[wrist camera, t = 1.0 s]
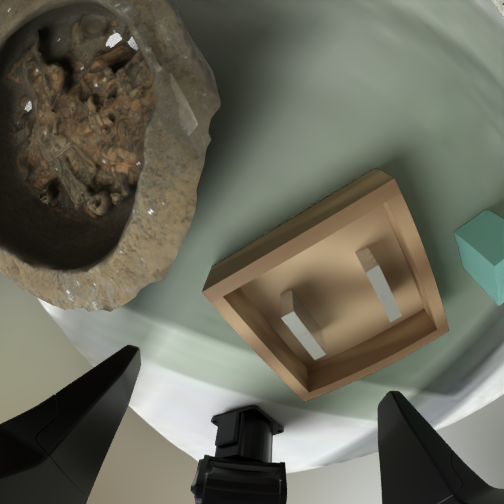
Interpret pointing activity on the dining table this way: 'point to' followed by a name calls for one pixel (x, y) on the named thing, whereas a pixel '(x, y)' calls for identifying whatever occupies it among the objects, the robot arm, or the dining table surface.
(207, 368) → the dining table surface
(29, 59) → the stone bowl
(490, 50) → the dining table surface
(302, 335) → the socket
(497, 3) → the decorative candle
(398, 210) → the walled box
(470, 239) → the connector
